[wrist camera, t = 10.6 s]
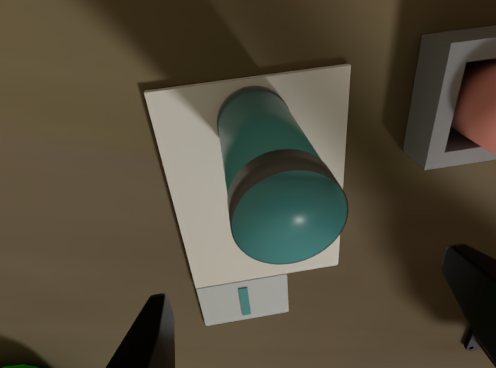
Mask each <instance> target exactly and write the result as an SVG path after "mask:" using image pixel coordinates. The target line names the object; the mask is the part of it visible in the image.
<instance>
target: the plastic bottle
mask: <svg viewBox="0 0 496 368" xmlns="http://www.w3.org/2000/svg"><path fill="white" fill-rule="evenodd" d="M2 368H39V367H34V366H30V365H26V364H23V365H13V366H4V367H2Z"/></svg>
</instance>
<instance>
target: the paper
mask: <svg viewBox="0 0 496 368" xmlns="http://www.w3.org/2000/svg"><path fill="white" fill-rule="evenodd" d="M350 73H351V65H350V64H341V65H333V66H326V67H318V68H311V69H303V70H296V71H288V72H281V73H273V74H266V75H258V76H251V77H243V78H236V79H228V80H221V81H213V82H206V83H198V84H191V85H183V86H175V87H168V88H160V89H153V90H145V92H144V95H145V99H146V103H147V106H148V110H149V114H150V118H151V121H152V125H153V129H154V133H155V137H156V140H157V144H158V148H159V152H160V155H161V159H162V163H163V167H164V171H165V174H166V178H167V182H168V186H169V189H170V193H171V197H172V201H173V205H174V208H175V212H176V216H177V220H178V223H179V227H180V231H181V235H182V239H183V242H184V246H185V250H186V254H187V257H188V261H189V265H190V269H191V273H192V276H193V280H194V284H195V288H201V287H207V286H213V285H219V284H225V283H231V282H237V281H243V280H249V279H255V278H261V277H267V276H273V275H279V274H285V273H291V272H297V271H303V270H309V269H315V268H321V267H327V266H333V265H338V257H339V242H340V235H339V236H338V238H337V239H336V240H335V241H334V242H333V243H332V244H331V245H330V246H329V247H328V248H326V249H325V250H324V251H322V252H321V253H319V254H317V255H315V256H314V257H312V258H309V259H307V260H304V261H301V262H297V263H292V264H281V265H277V264H268V263H263V262H260V261H257V260H255V259H253V258H251V257H249V256H247V255H246V254H245V253H244V252H242V251H241V250H240V248H239V247H238V246H237V245H236V243H235V241H234V239H233V237H232V233H231V228H230V220H229V213H228V205H227V188H226V181H225V174H224V167H223V159H222V152H221V145H220V138H219V135H218V130H217V115H218V112H219V109H220V107H221V105H222V103H223V102H224V100H225V99H226V98H227V97H228V96H229V95H230V94H231V93H233V92H234V91H236V90H238V89H240V88H243V87H247V86H263V87H267V88H269V89H271V90H273V91H275V92H276V93H278V94H279V95H280V96H281V98H282V99H283V100H284V102H285V103H286V105H287V106H288V108H289V111H290V112H291V114H292V115H293V117H294V119H295V120H296V122H297V123H298V125H299V126H300V128H301V129H302V131H303V132H304V134H305V135H306V137H307V138H308V140H309V141H310V143H311V144H312V146H313V148H314V149H315V151H316V152H317V154H318V155H319V157H320V158H321V160H322V161H323V162H324V163H325V164H326V165H327V167H328V168H329V169H330V171H331V172H332V174H333V175H334V177H335V178H336V180H337V181H338V183H339V184H340V186H341V187H342V189H343V180H344V165H345V149H346V134H347V119H348V103H349V88H350Z"/></svg>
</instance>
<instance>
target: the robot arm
mask: <svg viewBox="0 0 496 368" xmlns="http://www.w3.org/2000/svg"><path fill="white" fill-rule="evenodd" d="M441 270H442V273H443V275H444V277H445V279H446V281H447V283H448V285H449V287H450V289H451V291H452V292H453V294H454V296H455V298H456V300H457V302H458V304H459V306H460V308H461V309H462V311H463V313H464V315H465V317H466V319H467V320H468V322H469V324H470V325H471V327H472V328H471V330H470V332H469V335H468V337H467V340H466V342H465V344H464V347H465V349H466V350H467V351H472V350H478V349H482V350H483V351H484V352H485V354H486V355H487V356H488V358H489V359H490V360H491V362H492V363H493V364H494V366H495V367H496V259H494V258H492V257H490V256H488V255H486V254H484V253H482V252H480V251H478V250H476V249H474V248H472V247H470V246H468V245H466V244H462V243H461V244H454V245H449V246H448V247H447V248H446V251H445V254H444V258H443V261H442V265H441ZM106 368H175V342H174V315H173V311H172V308H171V305H170V302H169V299H168V296H167V294H166V293H161V294H155V295H152V296H150V297H149V299H148V300H147V302H146V304H145V305H144V307H143V308H142V310H141V312H140V313H139V315H138V317H137V318H136V320H135V321H134V323H133V325H132V326H131V328H130V329H129V331H128V333H127V334H126V336H125V337H124V339H123V341H122V342H121V344H120V345H119V347H118V349H117V350H116V352H115V354H114V355H113V357H112V358H111V360H110V362H109V363H108V365H107V366H106Z"/></svg>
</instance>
